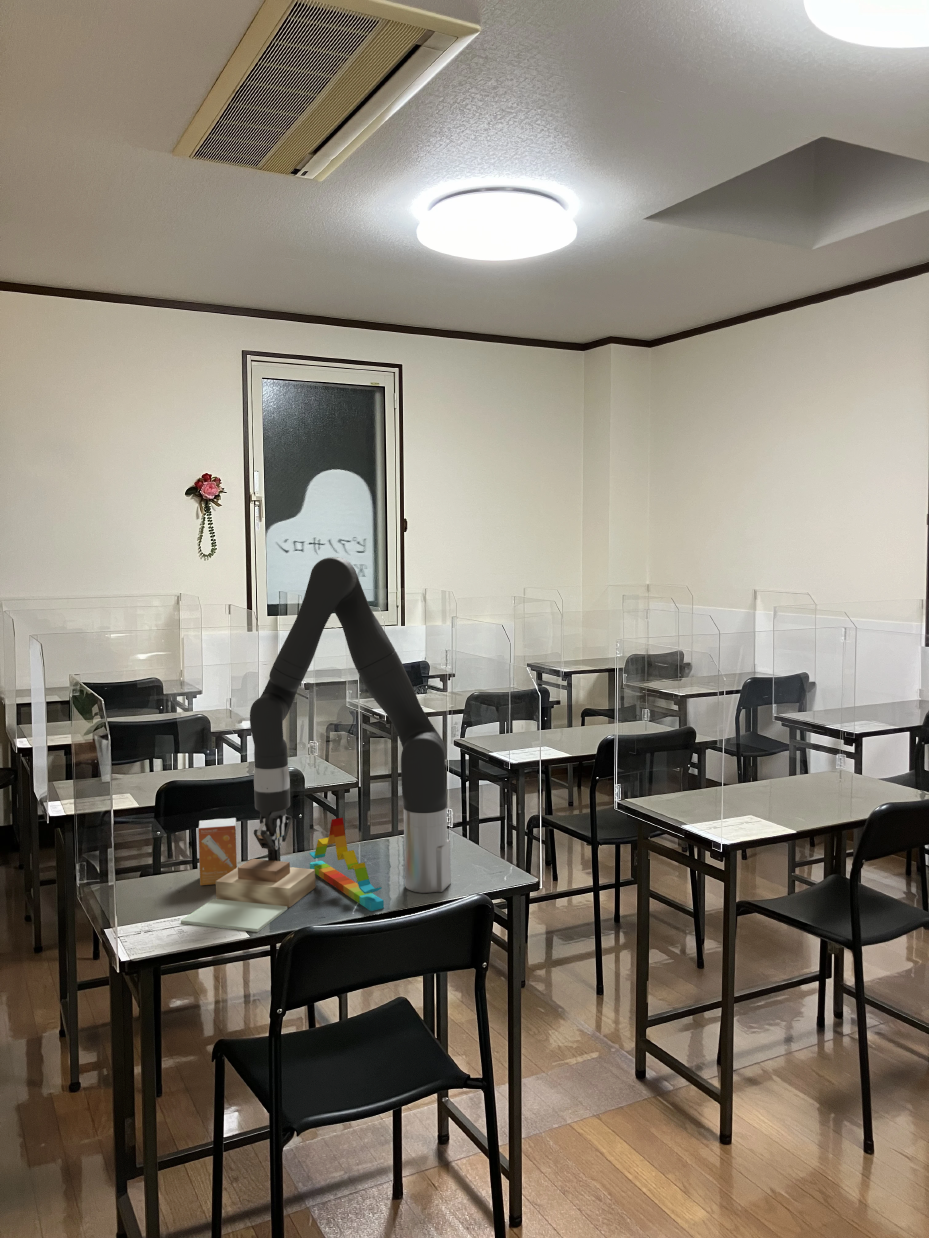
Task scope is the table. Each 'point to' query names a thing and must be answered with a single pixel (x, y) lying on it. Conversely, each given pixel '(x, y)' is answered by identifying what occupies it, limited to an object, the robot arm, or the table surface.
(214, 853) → the small box
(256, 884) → the birch deck
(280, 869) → the walnut tile
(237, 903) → the sage mat
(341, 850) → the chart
